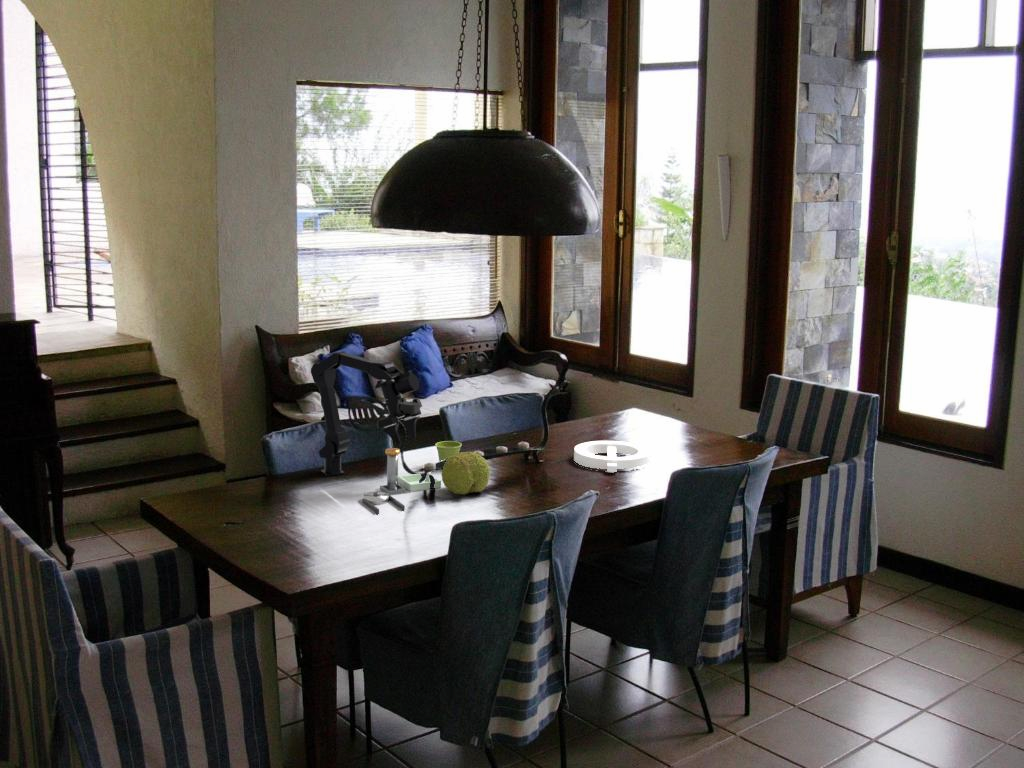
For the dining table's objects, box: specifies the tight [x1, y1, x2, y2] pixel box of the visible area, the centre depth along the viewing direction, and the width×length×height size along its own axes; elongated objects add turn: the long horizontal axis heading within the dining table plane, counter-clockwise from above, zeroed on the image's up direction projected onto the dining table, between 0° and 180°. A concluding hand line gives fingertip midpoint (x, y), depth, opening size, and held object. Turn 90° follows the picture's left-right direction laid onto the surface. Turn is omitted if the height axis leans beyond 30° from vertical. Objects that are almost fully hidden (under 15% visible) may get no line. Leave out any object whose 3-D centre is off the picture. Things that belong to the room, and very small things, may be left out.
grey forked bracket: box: [362, 491, 406, 516], centre depth 359 cm, size 16×9×3 cm, turn 29°
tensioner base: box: [375, 484, 411, 497], centre depth 373 cm, size 9×9×2 cm
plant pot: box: [435, 440, 462, 462], centre depth 404 cm, size 9×9×9 cm
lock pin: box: [384, 447, 401, 490], centre depth 372 cm, size 5×5×14 cm
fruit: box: [441, 451, 491, 495], centre depth 374 cm, size 16×14×15 cm
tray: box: [398, 473, 442, 493], centre depth 380 cm, size 11×11×3 cm
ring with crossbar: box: [573, 440, 651, 473], centre depth 418 cm, size 28×28×5 cm
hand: (407, 442), depth 378 cm, fingers open, 9 cm apart
